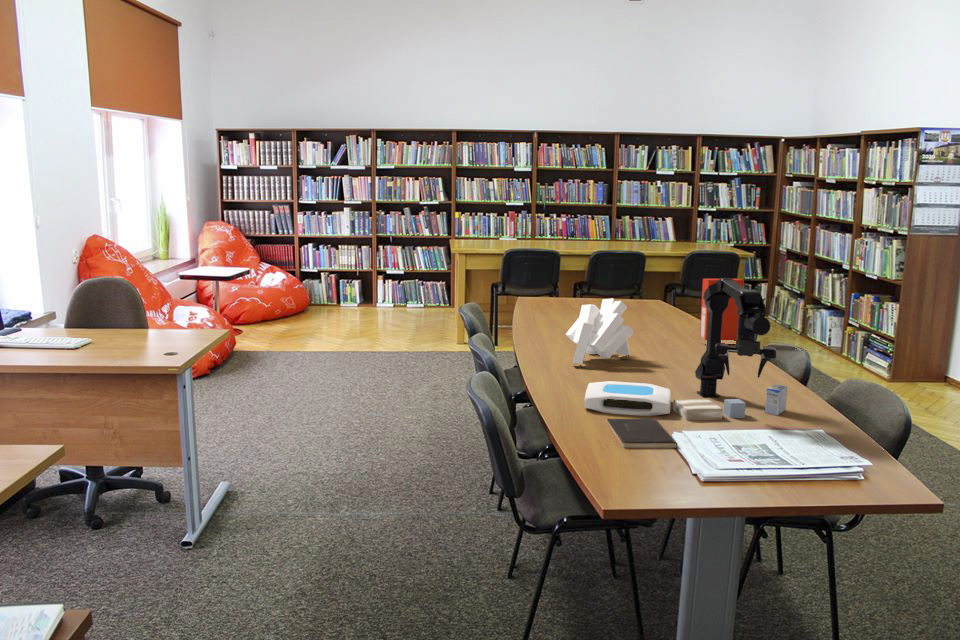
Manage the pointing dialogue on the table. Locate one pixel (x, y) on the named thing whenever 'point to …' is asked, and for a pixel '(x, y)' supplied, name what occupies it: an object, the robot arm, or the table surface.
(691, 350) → the table surface
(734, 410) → the grey cube
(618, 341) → the pile of blocks
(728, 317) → the file binder
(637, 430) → the hardcover book
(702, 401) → the cream block
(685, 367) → the table surface
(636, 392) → the document scanner
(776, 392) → the medicine box
